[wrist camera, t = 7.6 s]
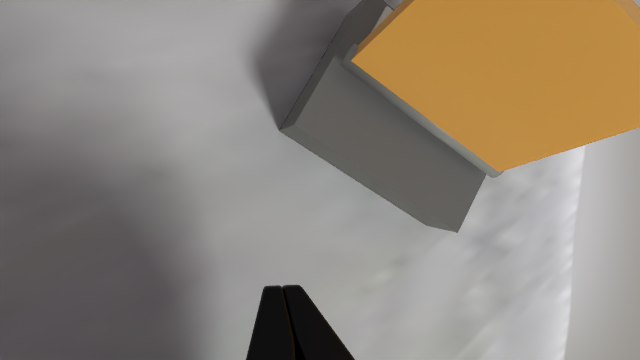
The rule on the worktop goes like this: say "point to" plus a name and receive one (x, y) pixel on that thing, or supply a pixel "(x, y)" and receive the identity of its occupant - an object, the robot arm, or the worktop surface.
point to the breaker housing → (380, 135)
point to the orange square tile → (508, 73)
